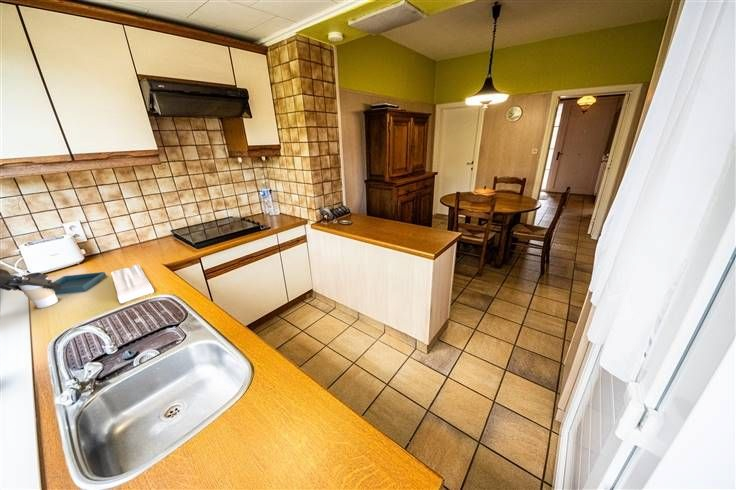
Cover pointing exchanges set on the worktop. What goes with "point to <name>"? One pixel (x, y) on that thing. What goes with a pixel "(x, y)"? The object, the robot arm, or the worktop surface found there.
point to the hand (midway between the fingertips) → (48, 288)
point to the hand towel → (131, 283)
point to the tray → (78, 282)
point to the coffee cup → (39, 293)
